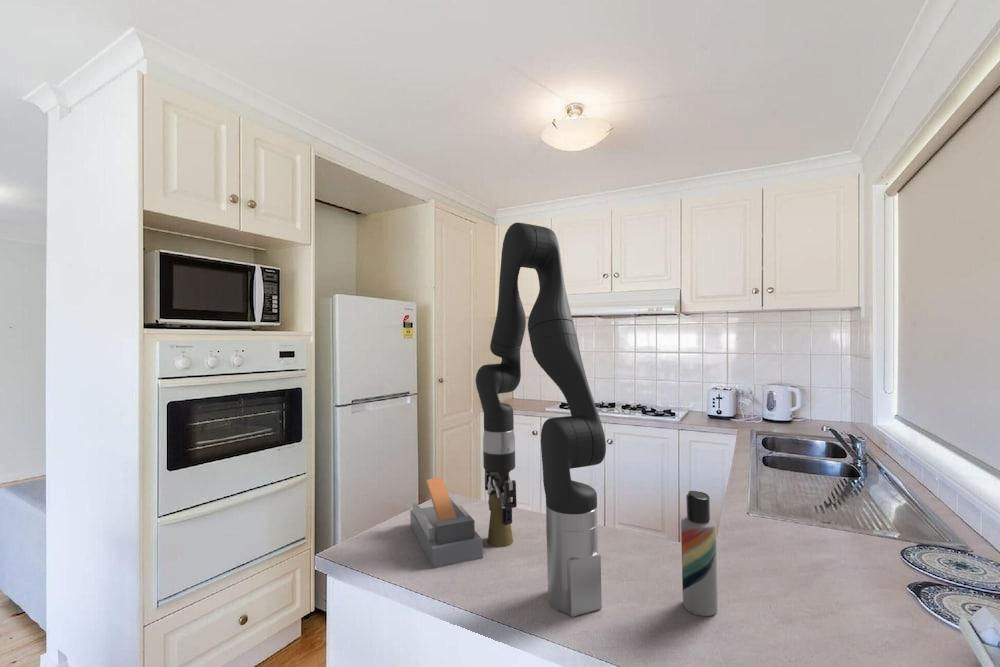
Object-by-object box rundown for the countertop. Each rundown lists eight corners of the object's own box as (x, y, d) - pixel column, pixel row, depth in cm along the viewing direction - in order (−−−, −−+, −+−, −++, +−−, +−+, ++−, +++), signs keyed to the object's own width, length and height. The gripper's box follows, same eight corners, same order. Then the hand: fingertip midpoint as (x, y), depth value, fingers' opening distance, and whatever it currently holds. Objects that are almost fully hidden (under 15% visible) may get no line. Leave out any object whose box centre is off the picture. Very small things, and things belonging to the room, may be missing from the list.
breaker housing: (482, 557, 102) (482, 521, 102) (433, 568, 98) (432, 529, 98) (452, 518, 124) (451, 488, 124) (410, 525, 120) (410, 494, 120)
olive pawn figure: (513, 547, 107) (512, 498, 107) (486, 547, 107) (485, 499, 107) (513, 535, 113) (512, 490, 113) (488, 535, 113) (487, 490, 113)
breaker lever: (460, 532, 105) (460, 528, 105) (443, 535, 104) (443, 531, 104) (441, 481, 120) (442, 477, 119) (426, 483, 118) (426, 479, 118)
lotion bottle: (688, 594, 86) (686, 485, 86) (722, 605, 83) (719, 491, 83) (678, 609, 82) (675, 494, 82) (712, 621, 78) (710, 501, 78)
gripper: (526, 454, 105) (527, 526, 105) (502, 440, 118) (503, 504, 119) (494, 458, 102) (496, 532, 103) (474, 443, 116) (475, 509, 116)
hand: (500, 517), depth 111 cm, fingers open, 8 cm apart
